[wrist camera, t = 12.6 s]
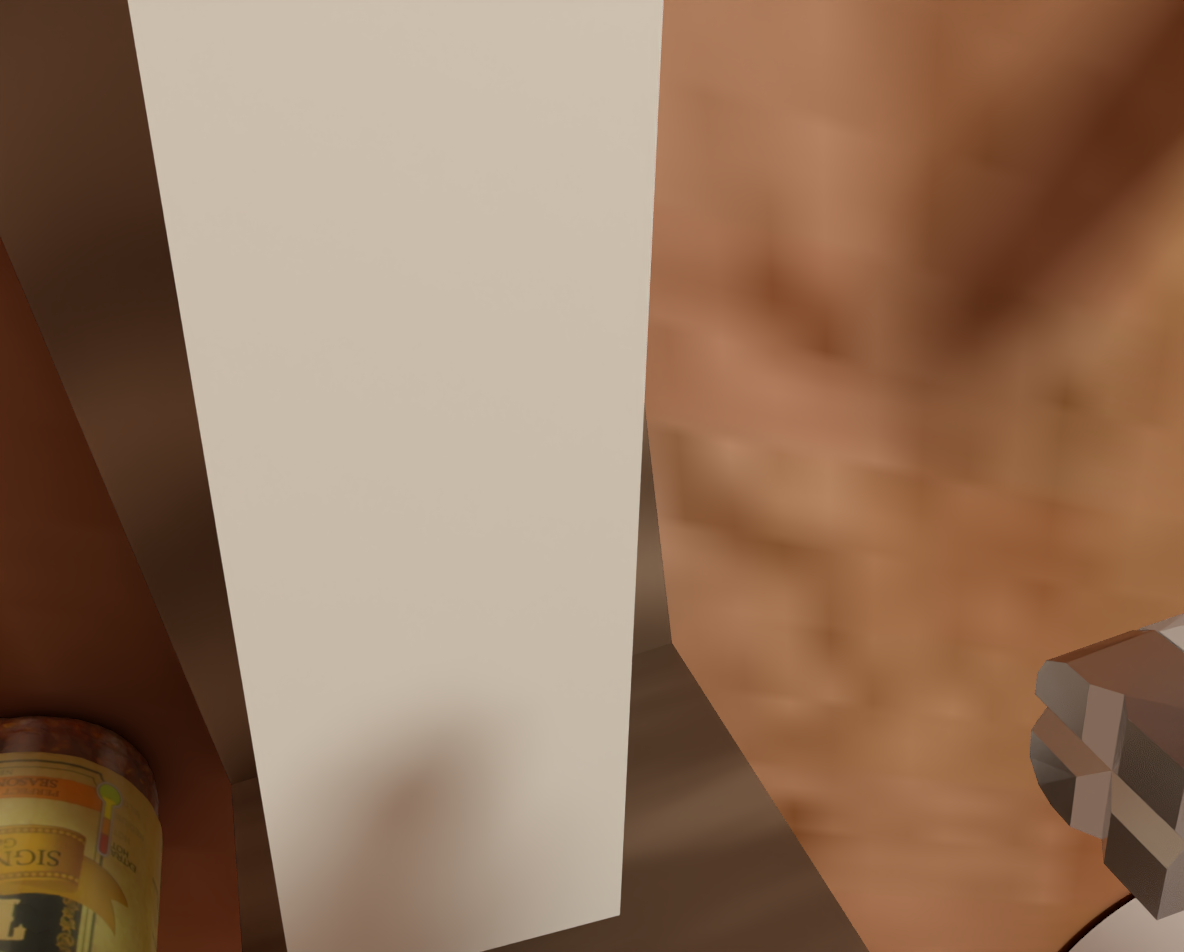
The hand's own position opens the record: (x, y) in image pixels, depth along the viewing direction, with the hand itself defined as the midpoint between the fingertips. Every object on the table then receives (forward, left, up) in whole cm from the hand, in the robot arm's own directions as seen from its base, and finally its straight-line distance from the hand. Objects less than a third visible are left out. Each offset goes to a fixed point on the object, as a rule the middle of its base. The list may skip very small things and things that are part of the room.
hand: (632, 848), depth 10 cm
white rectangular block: (0, 0, -11) cm, 11 cm away
